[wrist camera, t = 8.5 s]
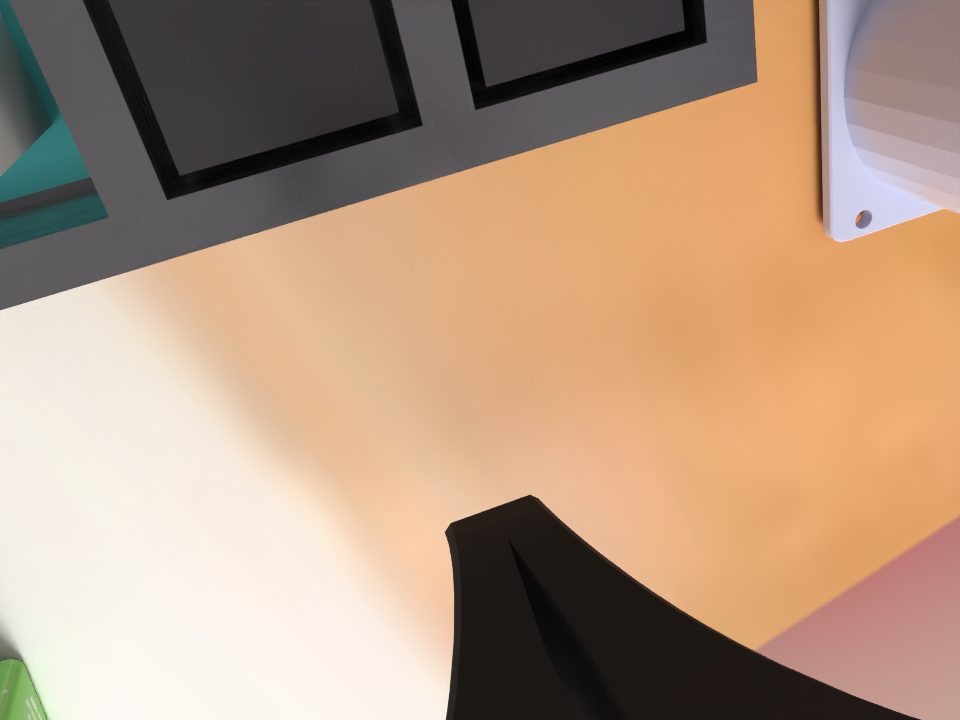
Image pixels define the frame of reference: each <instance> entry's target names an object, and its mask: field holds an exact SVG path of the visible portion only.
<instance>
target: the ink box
mask: <svg viewBox="0 0 960 720" xmlns="http://www.w3.org/2000/svg"><path fill="white" fill-rule="evenodd" d="M0 720H47V718H46V716H45V713H44V710H43V708H42V706H41V703H40V700H39V698H38V696H37V694H36V692H35V689H34V687H33V684H32V682H31V679H30V677H29V675H28V672H27V670H26V668H25V665H24V664H23V662H21V661H19V660H15V659H6V660H2V661H0Z"/></svg>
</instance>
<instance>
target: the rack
mask: <svg viewBox="0 0 960 720" xmlns="http://www.w3.org/2000/svg"><path fill="white" fill-rule="evenodd" d="M0 13H1V15H2V18H3V20H4V22H5V24H6V26H7V28H8V30H9V33H10V35H11V37H12V39H13V41H14V43H15V45H16V48H17V50H18V52H19V54H20V56H21V58H22V60H23V62H24V65H25V67H26V69H27V71H28V73H29V75H30V77H31V80H32V82H33V84H34V86H35V88H36V90H37V92H38V94H39V97H40V99H41V101H42V103H43V105H44V107H45V109H46V112H47V114H48V116H49V118H50V120H51V122H52V125H51V126H50V127H49V128H48V129H47V130H46V131H45V132H44V133H43V134H42V135H41V136H40V137H39V138H38V139H37V140H36V141H35V142H34V143H33V144H32V145H31V146H30V147H29V148H28V149H27V150H26V151H25V152H24V153H23V154H22V155H21V156H20V157H19V158H18V159H17V160H16V161H15V162H14V163H13V164H12V165H11V166H10V167H9V168H8V169H7V170H6V171H5V172H4V173H3V174H2V175H1V176H0V310H3V309H6V308H9V307H13V306H16V305H19V304H23V303H26V302H29V301H33V300H36V299H39V298H43V297H46V296H49V295H53V294H56V293H59V292H62V291H66V290H69V289H72V288H76V287H79V286H82V285H86V284H89V283H92V282H96V281H99V280H102V279H106V278H109V277H112V276H116V275H119V274H122V273H125V272H129V271H132V270H135V269H139V268H142V267H145V266H149V265H152V264H155V263H159V262H162V261H165V260H169V259H172V258H175V257H178V256H182V255H185V254H188V253H192V252H195V251H198V250H202V249H205V248H208V247H212V246H215V245H218V244H222V243H225V242H228V241H231V240H235V239H238V238H241V237H245V236H248V235H251V234H255V233H258V232H261V231H265V230H268V229H271V228H275V227H278V226H281V225H285V224H288V223H291V222H294V221H298V220H301V219H304V218H308V217H311V216H314V215H318V214H321V213H324V212H328V211H331V210H334V209H338V208H341V207H344V206H347V205H351V204H354V203H357V202H361V201H364V200H367V199H371V198H374V197H377V196H381V195H384V194H387V193H391V192H394V191H397V190H401V189H404V188H407V187H410V186H414V185H417V184H420V183H424V182H427V181H430V180H434V179H437V178H440V177H444V176H447V175H450V174H454V173H457V172H460V171H463V170H467V169H470V168H473V167H477V166H480V165H483V164H487V163H490V162H493V161H497V160H500V159H503V158H507V157H510V156H513V155H516V154H520V153H523V152H526V151H530V150H533V149H536V148H540V147H543V146H546V145H550V144H553V143H556V142H560V141H563V140H566V139H570V138H573V137H576V136H579V135H583V134H586V133H589V132H593V131H596V130H599V129H603V128H606V127H609V126H613V125H616V124H619V123H623V122H626V121H629V120H632V119H636V118H639V117H642V116H646V115H649V114H652V113H656V112H659V111H662V110H666V109H669V108H672V107H676V106H679V105H682V104H686V103H689V102H692V101H695V100H699V99H702V98H705V97H709V96H712V95H715V94H719V93H722V92H725V91H729V90H732V89H735V88H739V87H742V86H745V85H748V84H752V83H755V82H757V66H756V47H755V29H754V10H753V0H0Z"/></svg>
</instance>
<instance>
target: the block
mask: <svg viewBox="0 0 960 720" xmlns="http://www.w3.org/2000/svg"><path fill="white" fill-rule="evenodd" d="M51 125H52V122H51V120H50V118H49V116H48V114H47V112H46V109H45V107H44V105H43V103H42V101H41V99H40V97H39V94H38V92H37V90H36V88H35V86H34V84H33V82H32V80H31V77H30V75H29V73H28V71H27V69H26V67H25V65H24V62H23V60H22V58H21V56H20V54H19V52H18V50H17V48H16V45H15V43H14V41H13V39H12V37H11V35H10V33H9V30H8V28H7V26H6V24H5V22H4V20H3V18H2V15H1V13H0V176H1V175H2V174H3V173H4V172H5V171H6V170H7V169H8V168H9V167H10V166H11V165H12V164H13V163H14V162H15V161H16V160H17V159H18V158H19V157H20V156H21V155H22V154H23V153H24V152H25V151H26V150H27V149H28V148H29V147H30V146H31V145H32V144H33V143H34V142H35V141H36V140H37V139H38V138H39V137H40V136H41V135H42V134H43V133H44V132H45V131H46V130H47V129H48V128H49V127H50V126H51Z"/></svg>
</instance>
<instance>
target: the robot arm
mask: <svg viewBox="0 0 960 720" xmlns="http://www.w3.org/2000/svg"><path fill="white" fill-rule="evenodd" d="M819 15H820V71H821V127H822V183H823V227H824V232H825V234H826V235H827V236H828V237H830V238H832V239H834V240H836V241H839V242H844V241H848V240H851V239H854V238H857V237H860V236H863V235H866V234H869V233H872V232H875V231H878V230H881V229H884V228H887V227H890V226H893V225H896V224H899V223H902V222H905V221H908V220H911V219H914V218H917V217H920V216H923V215H926V214H929V213H932V212H935V211H938V210H941V209H944V208H945V209H948V210H951V211H953V212H956V213H959V214H960V0H819ZM862 211H863V214H862V218H861V219H860V220H859V222H857V223H856V224H855V221H856V217H857V216H858V214H859V213H860V212H862ZM445 534H446V537H447V540H448V543H449V548H450V553H451V559H452V567H453V580H454V645H453V657H452V669H451V681H450V692H449V700H448V708H447V716H446V720H920V719H917V718H913V717H910V716H907V715H904V714H901V713H899V712H896V711H893V710H890V709H888V708H885V707H882V706H879V705H877V704H874V703H871V702H868V701H866V700H863V699H861V698H858V697H855V696H853V695H850V694H848V693H846V692H843V691H841V690H839V689H836V688H834V687H832V686H830V685H827V684H825V683H822V682H820V681H818V680H816V679H813V678H811V677H809V676H806V675H804V674H802V673H800V672H797V671H795V670H793V669H790V668H788V667H786V666H783V665H781V664H779V663H777V662H775V661H773V660H771V659H769V658H767V657H765V656H763V655H761V654H759V653H757V652H755V651H753V650H751V649H749V648H747V647H745V646H743V645H741V644H739V643H737V642H736V641H734V640H732V639H730V638H728V637H726V636H725V635H723V634H721V633H719V632H717V631H716V630H714V629H712V628H710V627H708V626H707V625H705V624H703V623H702V622H700V621H698V620H697V619H695V618H693V617H692V616H690V615H688V614H687V613H685V612H683V611H682V610H680V609H679V608H677V607H675V606H674V605H672V604H671V603H669V602H668V601H666V600H665V599H663V598H662V597H660V596H659V595H657V594H656V593H654V592H653V591H651V590H650V589H648V588H647V587H645V586H644V585H642V584H641V583H640V582H638V581H637V580H635V579H634V578H632V577H631V576H630V575H628V574H627V573H626V572H624V571H623V570H622V569H620V568H619V567H618V566H616V565H615V564H614V563H612V562H611V561H610V560H608V559H607V558H606V557H604V556H603V555H602V554H600V553H599V552H598V551H597V550H595V549H594V548H593V547H592V546H590V545H589V544H588V543H587V542H586V541H584V540H583V539H582V538H581V537H580V536H578V535H577V534H576V533H575V532H574V531H572V530H571V529H570V528H569V527H568V526H567V525H566V524H564V523H563V522H562V521H561V520H560V519H559V518H558V517H557V516H556V515H555V514H554V513H552V512H551V511H550V510H549V509H548V508H547V507H546V506H545V505H544V504H543V503H542V502H541V501H540V500H539V499H538V498H536V497H534V496H532V495H528V496H525V497H522V498H520V499H517V500H514V501H511V502H508V503H506V504H503V505H500V506H497V507H494V508H492V509H489V510H486V511H483V512H481V513H478V514H475V515H472V516H469V517H467V518H464V519H461V520H458V521H456V522H453V523H450V525H449V527H448V528H447V530H446V531H445Z"/></svg>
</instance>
